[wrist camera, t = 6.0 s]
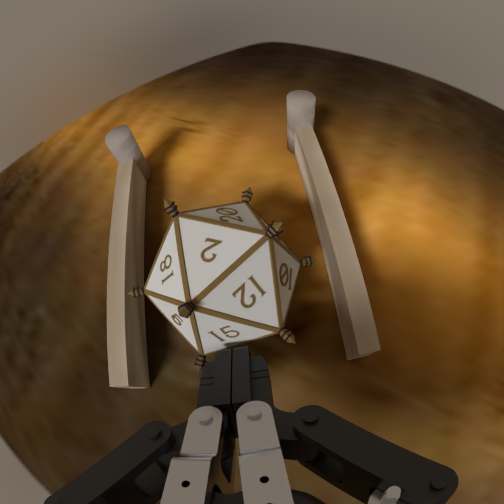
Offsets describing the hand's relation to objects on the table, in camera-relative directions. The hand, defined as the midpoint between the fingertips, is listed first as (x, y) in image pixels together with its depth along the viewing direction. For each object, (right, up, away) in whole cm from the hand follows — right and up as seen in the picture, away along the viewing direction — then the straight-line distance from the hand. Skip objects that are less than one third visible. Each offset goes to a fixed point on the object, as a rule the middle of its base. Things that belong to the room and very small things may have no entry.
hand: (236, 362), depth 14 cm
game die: (0, +2, +5) cm, 6 cm away
